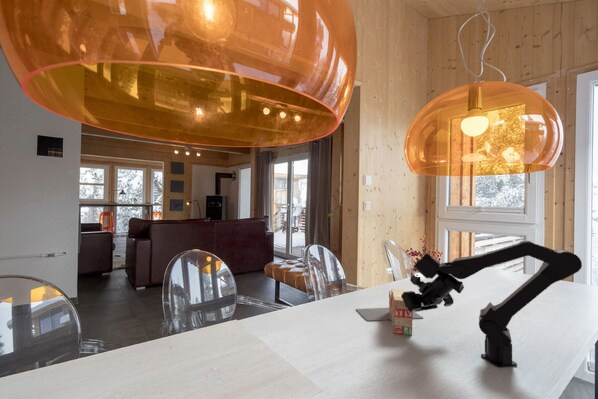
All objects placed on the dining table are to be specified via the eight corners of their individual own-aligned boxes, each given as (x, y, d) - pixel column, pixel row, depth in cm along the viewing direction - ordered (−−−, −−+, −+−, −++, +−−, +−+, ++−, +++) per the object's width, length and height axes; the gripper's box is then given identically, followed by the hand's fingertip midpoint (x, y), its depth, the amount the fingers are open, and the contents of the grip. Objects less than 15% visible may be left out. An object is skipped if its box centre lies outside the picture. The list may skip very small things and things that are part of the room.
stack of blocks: (388, 311, 124) (389, 282, 124) (404, 312, 123) (404, 283, 123) (393, 333, 103) (394, 299, 103) (412, 335, 102) (413, 300, 102)
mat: (423, 318, 118) (423, 317, 118) (367, 321, 115) (367, 320, 115) (406, 307, 131) (406, 306, 131) (355, 309, 127) (355, 308, 127)
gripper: (446, 265, 105) (423, 288, 115) (405, 268, 98) (384, 292, 108) (466, 293, 97) (439, 315, 107) (422, 299, 90) (398, 322, 100)
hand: (415, 310), depth 106 cm, fingers closed
